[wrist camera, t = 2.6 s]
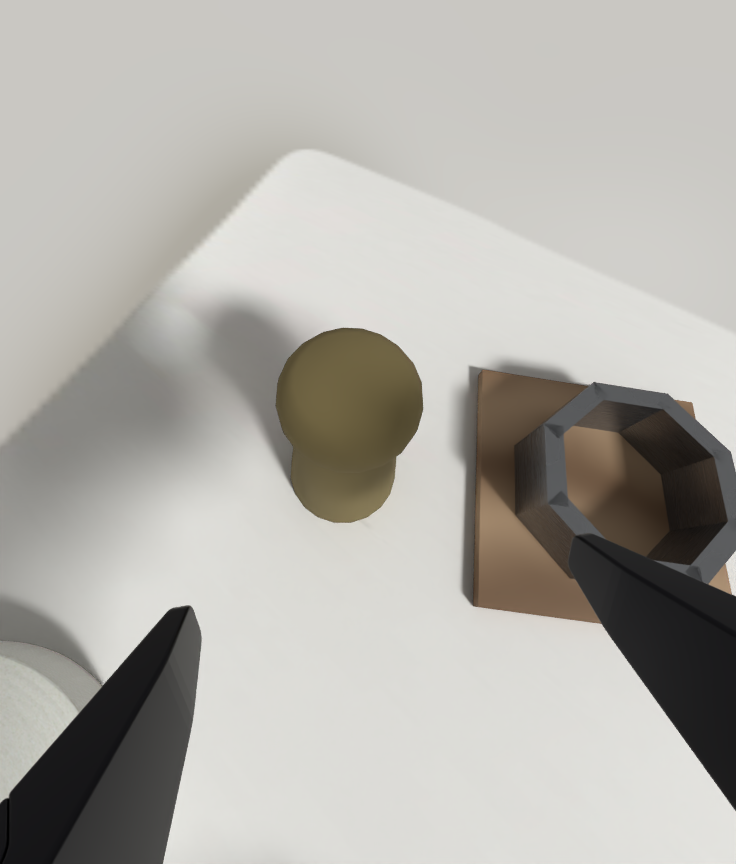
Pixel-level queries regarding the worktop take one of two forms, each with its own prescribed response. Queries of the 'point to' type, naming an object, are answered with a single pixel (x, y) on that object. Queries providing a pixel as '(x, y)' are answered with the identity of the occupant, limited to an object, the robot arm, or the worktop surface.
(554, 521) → the metal collar
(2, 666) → the roll of tape
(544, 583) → the walnut plate
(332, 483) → the cork
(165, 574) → the worktop surface
